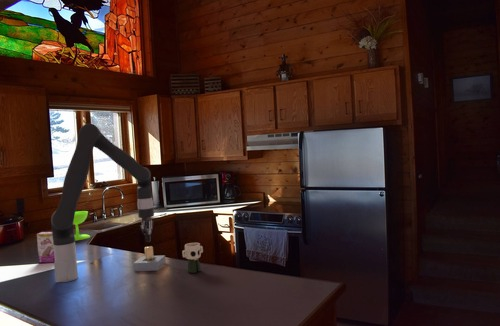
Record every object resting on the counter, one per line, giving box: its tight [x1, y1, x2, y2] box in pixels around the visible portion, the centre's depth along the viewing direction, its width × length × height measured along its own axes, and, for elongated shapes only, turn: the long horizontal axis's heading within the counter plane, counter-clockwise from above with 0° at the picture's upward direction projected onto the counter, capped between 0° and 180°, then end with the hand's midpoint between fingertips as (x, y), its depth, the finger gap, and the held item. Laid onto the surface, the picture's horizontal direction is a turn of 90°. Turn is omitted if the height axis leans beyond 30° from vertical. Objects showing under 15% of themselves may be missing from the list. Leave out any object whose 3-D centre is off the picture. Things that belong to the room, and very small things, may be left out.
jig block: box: [133, 255, 167, 272], centre depth 198 cm, size 12×12×4 cm
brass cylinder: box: [144, 245, 154, 261], centre depth 198 cm, size 4×4×10 cm
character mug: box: [181, 242, 204, 274], centre depth 186 cm, size 11×7×13 cm, turn 129°
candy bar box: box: [36, 231, 55, 264], centre depth 222 cm, size 11×5×16 cm, turn 84°
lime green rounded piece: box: [73, 210, 91, 242], centre depth 282 cm, size 16×16×18 cm
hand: (148, 241), depth 198 cm, fingers closed
